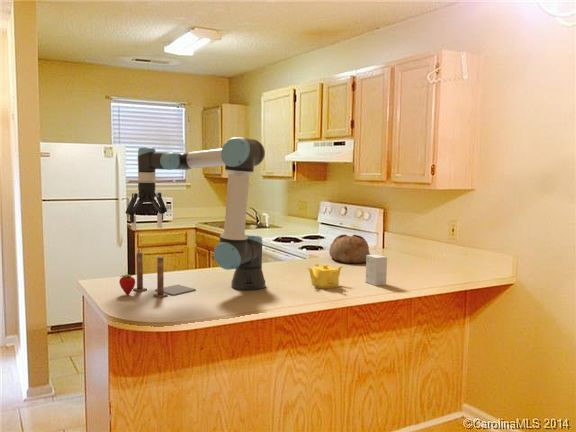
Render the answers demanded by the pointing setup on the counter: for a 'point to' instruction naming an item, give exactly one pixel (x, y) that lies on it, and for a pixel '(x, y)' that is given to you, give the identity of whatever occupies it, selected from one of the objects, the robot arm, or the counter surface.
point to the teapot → (325, 276)
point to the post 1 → (139, 273)
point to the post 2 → (160, 279)
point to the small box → (376, 269)
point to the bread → (349, 249)
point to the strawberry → (127, 283)
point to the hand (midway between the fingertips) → (147, 228)
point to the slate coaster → (177, 290)
